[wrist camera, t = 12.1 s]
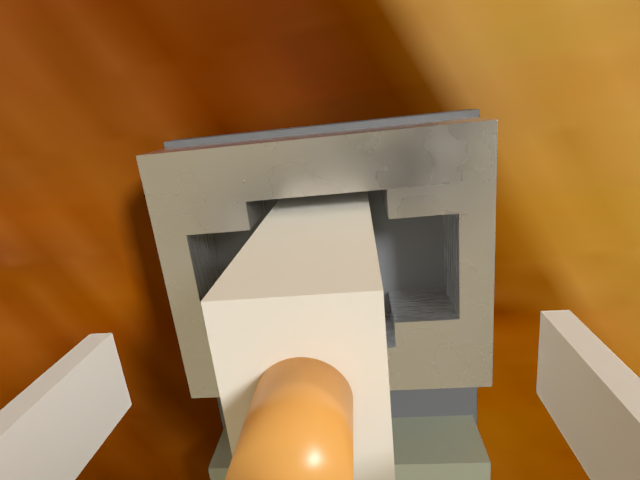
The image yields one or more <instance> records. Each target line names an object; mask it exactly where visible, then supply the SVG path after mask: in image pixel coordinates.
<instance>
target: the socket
mask: <svg viewBox="0 0 640 480" xmlns="http://www.w3.org/2000/svg"><path fill="white" fill-rule="evenodd" d="M497 128H498V119H490V118H481V117H466V118H456V119H446V120H436V121H426V122H417V123H407V124H397V125H387V126H377V127H368V128H358V129H348V130H338V131H328V132H318V133H309V134H299V135H289V136H279V137H269V138H260V139H250V140H240V141H230V142H220V143H211V144H201V145H191V146H181V147H171V148H166V149H162V150H158V151H154V152H149V153H145V154H141V155H137V156H136V159H137V163H138V167H139V172H140V176H141V180H142V185H143V189H144V194H145V198H146V202H147V207H148V211H149V215H150V220H151V224H152V228H153V233H154V237H155V241H156V246H157V250H158V255H159V259H160V263H161V268H162V272H163V276H164V281H165V285H166V289H167V294H168V298H169V303H170V307H171V311H172V316H173V320H174V324H175V329H176V333H177V337H178V342H179V346H180V350H181V355H182V359H183V364H184V368H185V372H186V377H187V381H188V385H189V390H190V394H191V398H212V397H220V394H219V389H218V385H217V380H216V375H215V370H214V365H213V360H212V355H211V350H210V346H209V341H208V336H207V331H206V326H205V321H204V316H203V312H202V307H201V301H202V299H203V298H204V297H205V295H206V294H207V293H208V292H209V290H210V289H211V288H212V286H213V285H214V284H215V282H216V281H217V280H218V279H219V277H220V276H221V275H222V273H221V267H220V262H219V257H218V251H217V246H216V240H215V235H214V233H221V232H234V231H246V230H251V229H252V227H253V226H254V225H255V224H256V222H257V221H258V220H259V219H260V217H261V216H262V215H263V214H264V212H265V204H264V200H270V199H281V198H293V197H304V196H316V195H327V194H339V193H351V192H362V191H374V190H382V191H383V203H384V206H385V209H386V212H387V215H388V219H397V218H409V217H422V216H434V215H443V257H444V288H433V289H417V290H401V291H389V308H390V313H385V325H386V340H387V356H388V372H389V388H390V390H415V389H440V388H466V387H491V386H492V365H493V318H494V270H495V223H496V175H497Z"/></svg>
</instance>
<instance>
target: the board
mask: <svg viewBox="0 0 640 480" xmlns="http://www.w3.org/2000/svg"><path fill="white" fill-rule="evenodd" d="M466 117H479V109H467V110H457V111H448V112H438V113H428V114H419V115H409V116H399V117H390V118H380V119H371V120H361V121H351V122H342V123H332V124H322V125H313V126H303V127H293V128H284V129H274V130H265V131H255V132H245V133H236V134H226V135H216V136H207V137H197V138H187V139H178V140H172V141H167V142H164V147H165V149H166V148H171V147H181V146H191V145H201V144H211V143H220V142H230V141H240V140H250V139H260V138H269V137H279V136H289V135H299V134H309V133H318V132H328V131H338V130H348V129H358V128H368V127H377V126H387V125H397V124H407V123H417V122H426V121H436V120H446V119H456V118H466ZM362 192H364V191H362ZM351 193H353V192H351ZM367 193H368V200H369V206H370V212H371V218H372V224H373V230H374V236H375V242H376V249H377V255H378V261H379V267H380V273H381V279H382V285H383V293H384V309H385V313H390V308H389V291H401V290H417V289H433V288H444V257H443V215H434V216H422V217H409V218H397V219H388V215H387V212H386V209H385V206H384V203H383V191H382V190H374V191H367ZM339 194H341V193H339ZM327 195H330V194H327ZM316 196H318V195H316ZM304 197H307V196H304ZM293 198H295V197H293ZM281 199H284V198H281ZM278 200H279V199H270V200H264V204H265V212H264V214H263V215H262V216H261V217H260V219H259V220H258V221H257V222H256V224H255V225H254V226H253V227H252V229H251V230H246V231H234V232H221V233H214V235H215V240H216V246H217V251H218V257H219V262H220V267H221V273H223V272H224V271H225V269H226V268H227V267H228V266H229V264H230V263H231V262H232V260H233V259H234V258H235V256H236V255H237V254H238V252H239V251H240V250H241V249H242V247H243V246H244V245H245V243H246V242H247V241H248V239H249V238H250V237H251V236H252V234H253V233H254V232H255V230H256V229H257V228H258V226H259V225H260V224H261V223H262V221H263V220H264V219H265V217H266V216H267V215H268V213H269V212H270V211H271V210H272V208H273V207H274V206H275V204H276V203H277V202H278ZM217 402H218V406H219V411H220V416H221V421H222V426H223V429H224V427H225V419H224V414H223V409H222V404H221V399H220V397H217ZM390 403H391V418H396V417H426V416H457V415H473V418H474V420H475V423H476V426H477V387H466V388H440V389H415V390H390Z"/></svg>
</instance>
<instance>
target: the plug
mask: <svg viewBox="0 0 640 480" xmlns="http://www.w3.org/2000/svg"><path fill="white" fill-rule="evenodd" d="M201 307H202V312H203V316H204V321H205V326H206V331H207V336H208V341H209V346H210V350H211V355H212V360H213V365H214V370H215V375H216V380H217V385H218V389H219V394H220V399H221V404H222V409H223V414H224V419H225V424H226V428H227V433H228V438H229V443H230V448H231V453H232V460H231V463H230V465H229V468H228V471H227V474H226V477H225V480H395V466H394V450H393V435H392V419H391V403H390V388H389V372H388V356H387V340H386V325H385V309H384V293H383V285H382V279H381V273H380V267H379V261H378V255H377V249H376V242H375V236H374V230H373V224H372V218H371V212H370V206H369V200H368V193H367V191H364V192H353V193H341V194H330V195H318V196H307V197H295V198H284V199H279V200H278V202H277V203H276V204H275V206H274V207H273V208H272V210H271V211H270V212H269V213H268V215H267V216H266V217H265V219H264V220H263V221H262V223H261V224H260V225H259V226H258V228H257V229H256V230H255V232H254V233H253V234H252V236H251V237H250V238H249V239H248V241H247V242H246V243H245V245H244V246H243V247H242V249H241V250H240V251H239V252H238V254H237V255H236V256H235V258H234V259H233V260H232V262H231V263H230V264H229V266H228V267H227V268H226V269H225V271H224V272H223V273H222V275H221V276H220V277H219V279H218V280H217V281H216V282H215V284H214V285H213V286H212V288H211V289H210V290H209V292H208V293H207V294H206V295H205V297H204V298H203V299H202V301H201Z"/></svg>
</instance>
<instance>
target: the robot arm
mask: <svg viewBox="0 0 640 480" xmlns="http://www.w3.org/2000/svg"><path fill="white" fill-rule="evenodd" d="M536 393H537V395H538V396H539V398H540V399H541V401H542V403H543V404H544V406H545V407H546V409H547V411H548V412H549V414H550V416H551V417H552V419H553V420H554V422H555V424H556V425H557V427H558V429H559V430H560V432H561V433H562V435H563V437H564V438H565V440H566V441H567V443H568V445H569V446H570V448H571V450H572V451H573V453H574V454H575V456H576V458H577V459H578V461H579V462H580V464H581V466H582V467H583V469H584V471H585V472H586V474H587V475H588V477H589V479H590V480H640V378H639V377H638V376H637V375H636V374H635V373H634V372H633V371H632V370H631V369H629V368H628V367H627V366H626V365H625V364H624V363H623V362H622V361H621V360H620V359H619V358H618V357H617V356H616V355H615V354H614V353H613V352H612V351H611V350H610V349H609V348H608V347H607V346H606V345H605V344H604V343H603V342H602V341H601V340H600V339H599V338H598V337H597V336H596V335H594V334H593V333H592V332H591V331H590V330H589V329H588V328H587V327H586V326H585V325H584V324H583V323H582V322H581V321H580V320H579V319H578V318H577V317H576V316H575V315H574V314H573V313H572V312H571V311H570V310H554V311H541V316H540V334H539V352H538V370H537V388H536ZM131 405H132V403H131V400H130V396H129V392H128V389H127V385H126V382H125V378H124V374H123V371H122V367H121V363H120V360H119V356H118V353H117V349H116V345H115V342H114V338H113V335H112V333H99V334H89V335H88V336H87V337H86V338H85V339H83V340H82V341H81V342H80V343H79V344H77V345H76V346H75V347H74V348H73V349H72V350H70V351H69V352H68V353H67V354H66V355H65V356H63V357H62V358H61V359H60V360H59V361H58V362H56V363H55V364H54V365H53V366H52V367H50V368H49V369H48V370H47V371H46V372H45V373H43V374H42V375H41V376H40V377H39V378H38V379H36V380H35V381H34V382H33V383H32V384H31V385H29V386H28V387H27V388H26V389H25V390H23V391H22V392H21V393H20V394H19V395H18V396H16V397H15V398H14V399H13V400H12V401H11V402H9V403H8V404H7V405H6V406H5V407H4V408H2V409H1V410H0V480H75V479H76V478H77V477H78V475H79V474H80V473H81V471H82V470H83V469H84V467H85V466H86V465H87V463H88V462H89V461H90V459H91V458H92V457H93V455H94V454H95V453H96V452H97V450H98V449H99V448H100V446H101V445H102V444H103V442H104V441H105V440H106V438H107V437H108V436H109V434H110V433H111V432H112V430H113V429H114V428H115V426H116V425H117V424H118V422H119V421H120V420H121V418H122V417H123V416H124V414H125V413H126V412H127V411H128V409H129V408H130V407H131Z"/></svg>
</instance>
